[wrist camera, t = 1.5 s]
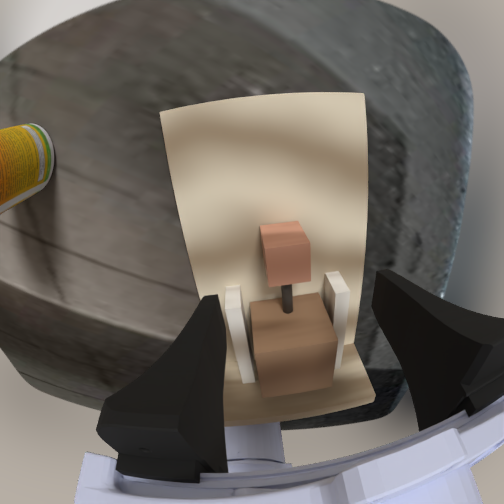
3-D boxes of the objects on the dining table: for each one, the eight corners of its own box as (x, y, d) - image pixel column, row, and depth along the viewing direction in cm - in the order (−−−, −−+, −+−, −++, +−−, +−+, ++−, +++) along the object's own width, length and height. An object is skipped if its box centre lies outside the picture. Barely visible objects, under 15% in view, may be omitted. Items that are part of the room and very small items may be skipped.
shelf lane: (349, 344, 24) (373, 401, 18) (221, 363, 24) (220, 426, 18) (358, 93, 14) (421, 89, 8) (163, 112, 14) (118, 111, 8)
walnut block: (316, 339, 22) (331, 386, 18) (257, 348, 22) (262, 397, 18) (318, 218, 17) (345, 255, 13) (238, 228, 17) (240, 270, 13)
